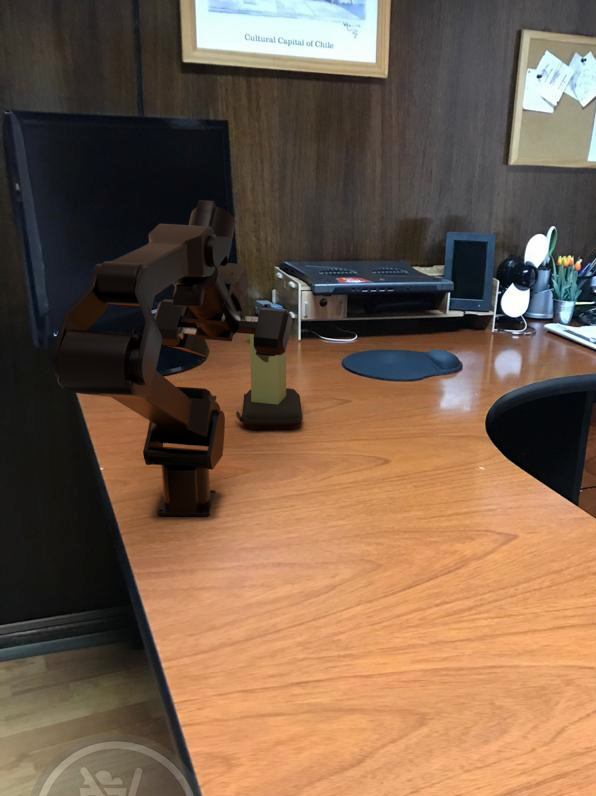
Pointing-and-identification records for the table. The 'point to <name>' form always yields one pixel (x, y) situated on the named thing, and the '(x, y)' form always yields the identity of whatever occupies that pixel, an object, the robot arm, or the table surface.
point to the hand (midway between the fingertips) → (237, 356)
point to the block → (267, 377)
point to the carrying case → (272, 412)
